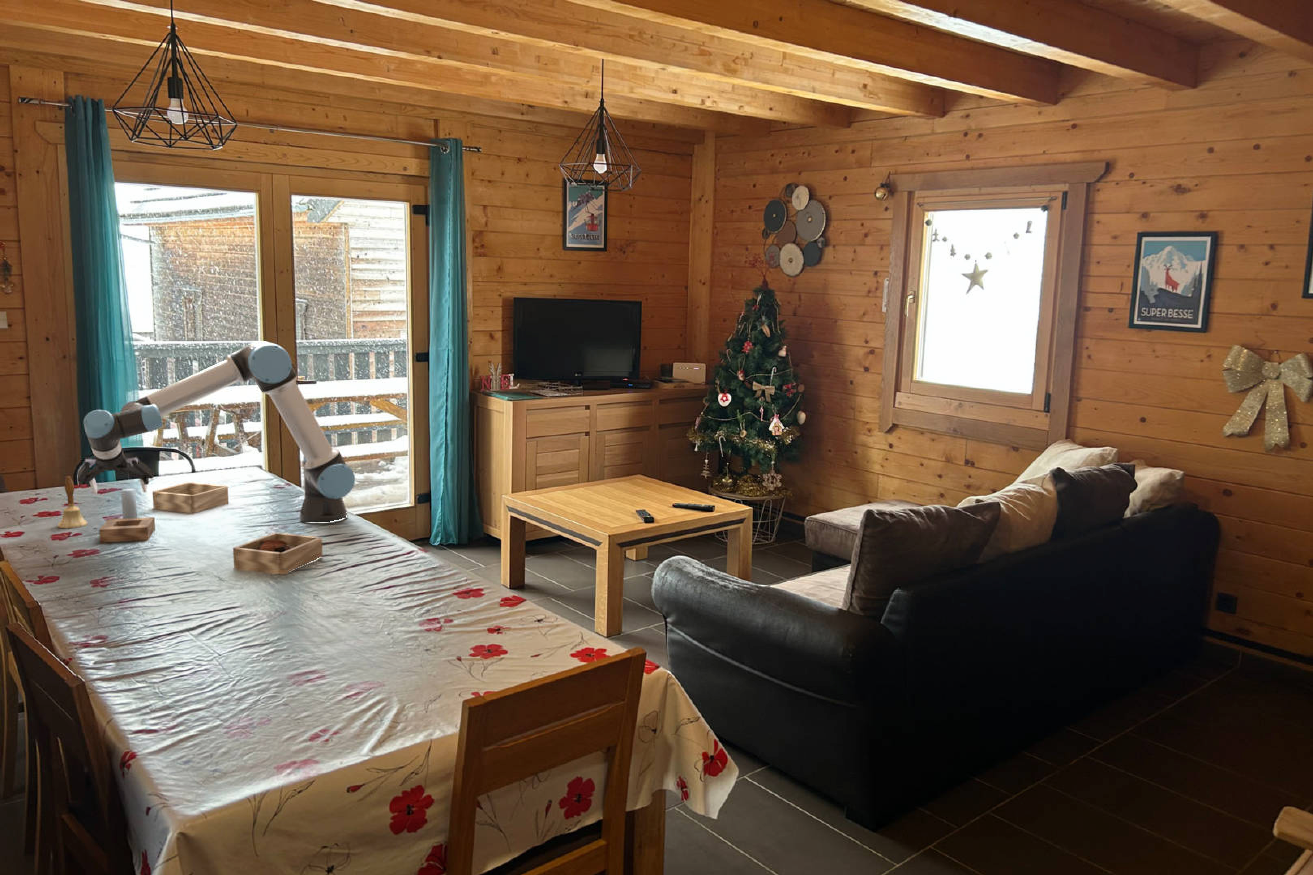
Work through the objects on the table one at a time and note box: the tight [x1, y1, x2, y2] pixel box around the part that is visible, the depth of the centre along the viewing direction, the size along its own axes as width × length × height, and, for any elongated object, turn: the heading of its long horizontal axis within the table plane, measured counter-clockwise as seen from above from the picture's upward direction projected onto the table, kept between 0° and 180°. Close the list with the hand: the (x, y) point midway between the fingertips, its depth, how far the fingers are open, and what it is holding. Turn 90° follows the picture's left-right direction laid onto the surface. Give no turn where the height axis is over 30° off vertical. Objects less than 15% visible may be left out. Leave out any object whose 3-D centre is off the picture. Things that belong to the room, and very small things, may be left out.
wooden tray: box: [152, 482, 229, 514], centre depth 339 cm, size 17×17×6 cm
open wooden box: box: [232, 532, 323, 575], centre depth 275 cm, size 16×18×6 cm
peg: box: [120, 488, 138, 519], centre depth 309 cm, size 4×4×12 cm
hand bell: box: [57, 475, 89, 529], centre depth 309 cm, size 8×8×16 cm
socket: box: [98, 516, 156, 543], centre depth 299 cm, size 13×13×4 cm
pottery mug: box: [256, 540, 291, 553], centre depth 274 cm, size 12×10×8 cm
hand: (120, 489), depth 299 cm, fingers open, 13 cm apart
